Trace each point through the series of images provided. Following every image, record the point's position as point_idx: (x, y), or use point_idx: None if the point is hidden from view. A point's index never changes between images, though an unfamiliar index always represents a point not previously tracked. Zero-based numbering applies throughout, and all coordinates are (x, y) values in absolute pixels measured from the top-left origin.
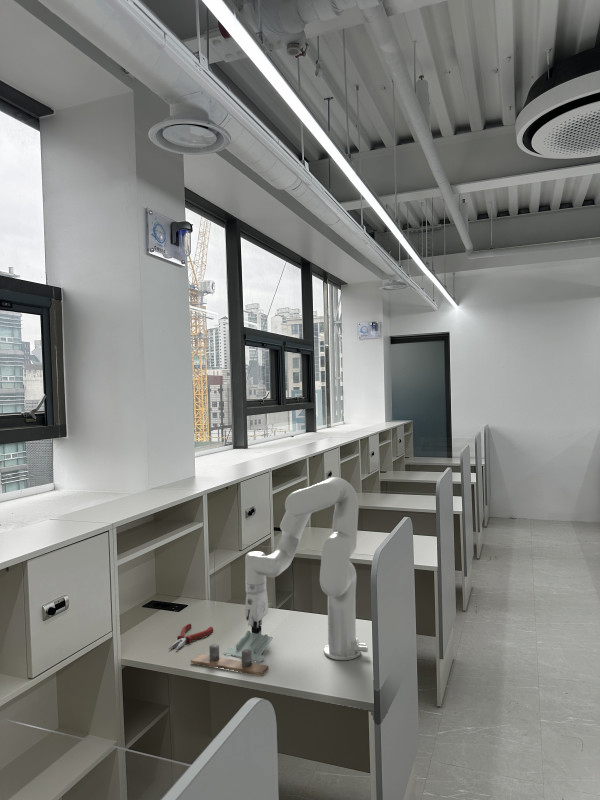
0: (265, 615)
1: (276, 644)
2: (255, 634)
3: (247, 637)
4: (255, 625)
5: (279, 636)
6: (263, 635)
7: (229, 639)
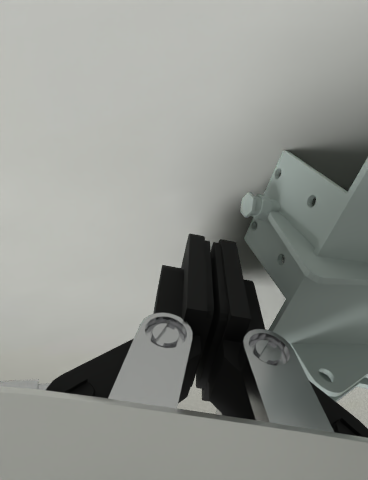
0: (112, 410)
1: (271, 15)
2: (303, 303)
3: (347, 352)
4: (319, 396)
5: (34, 36)
6: (352, 208)
7: (201, 411)
